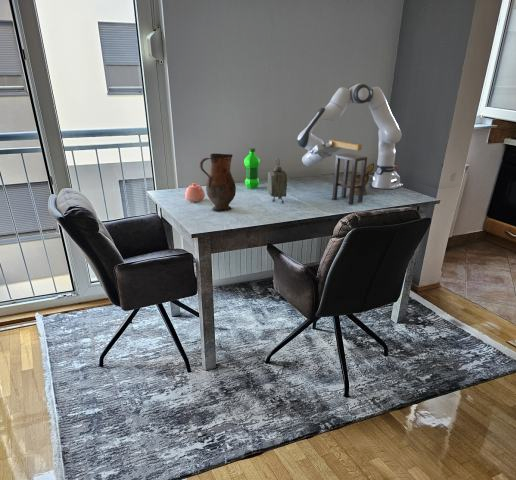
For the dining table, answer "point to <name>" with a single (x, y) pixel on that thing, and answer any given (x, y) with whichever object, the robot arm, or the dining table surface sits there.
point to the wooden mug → (365, 179)
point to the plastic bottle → (252, 169)
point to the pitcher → (220, 181)
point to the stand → (353, 177)
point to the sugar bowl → (194, 193)
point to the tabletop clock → (277, 183)
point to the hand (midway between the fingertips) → (335, 142)
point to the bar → (346, 145)
